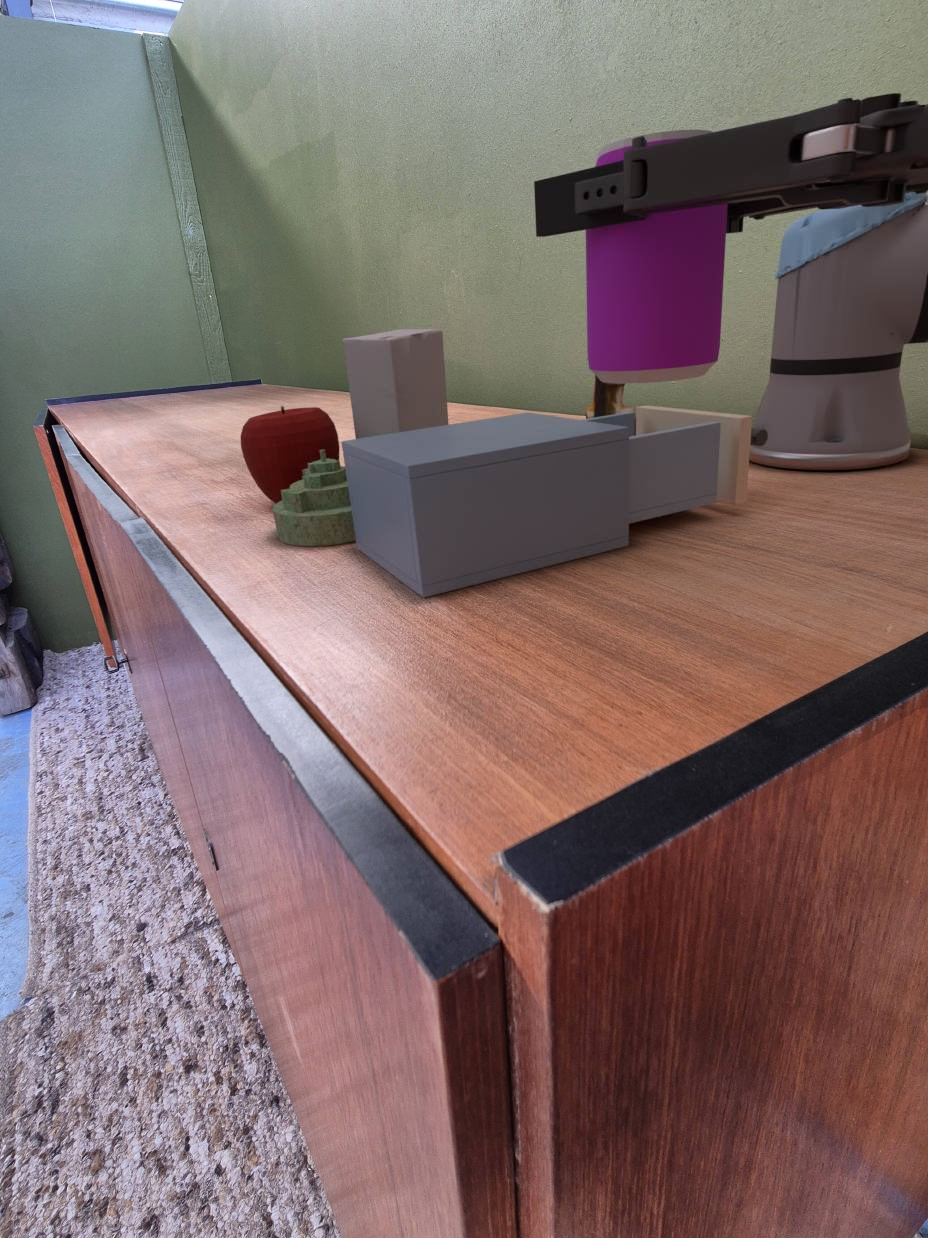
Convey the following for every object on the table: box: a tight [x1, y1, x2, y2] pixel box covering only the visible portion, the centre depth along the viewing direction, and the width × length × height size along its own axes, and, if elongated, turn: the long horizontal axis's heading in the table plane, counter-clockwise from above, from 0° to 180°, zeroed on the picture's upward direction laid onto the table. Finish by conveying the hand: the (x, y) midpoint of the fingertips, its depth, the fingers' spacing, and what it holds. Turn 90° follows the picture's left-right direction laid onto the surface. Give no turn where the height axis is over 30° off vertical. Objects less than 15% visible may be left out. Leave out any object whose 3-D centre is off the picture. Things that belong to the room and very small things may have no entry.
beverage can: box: [585, 129, 728, 384], centre depth 41 cm, size 8×8×12 cm
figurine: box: [585, 374, 636, 436], centre depth 72 cm, size 5×8×20 cm, turn 73°
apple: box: [240, 405, 340, 505], centre depth 72 cm, size 10×10×10 cm
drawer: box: [582, 404, 768, 525], centre depth 59 cm, size 20×12×7 cm, turn 116°
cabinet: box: [340, 412, 630, 599], centre depth 53 cm, size 17×14×9 cm
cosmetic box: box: [342, 328, 450, 439], centre depth 72 cm, size 8×7×16 cm
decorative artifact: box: [272, 450, 356, 547], centre depth 62 cm, size 10×7×10 cm
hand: (583, 211), depth 43 cm, fingers closed on beverage can, 8 cm apart
